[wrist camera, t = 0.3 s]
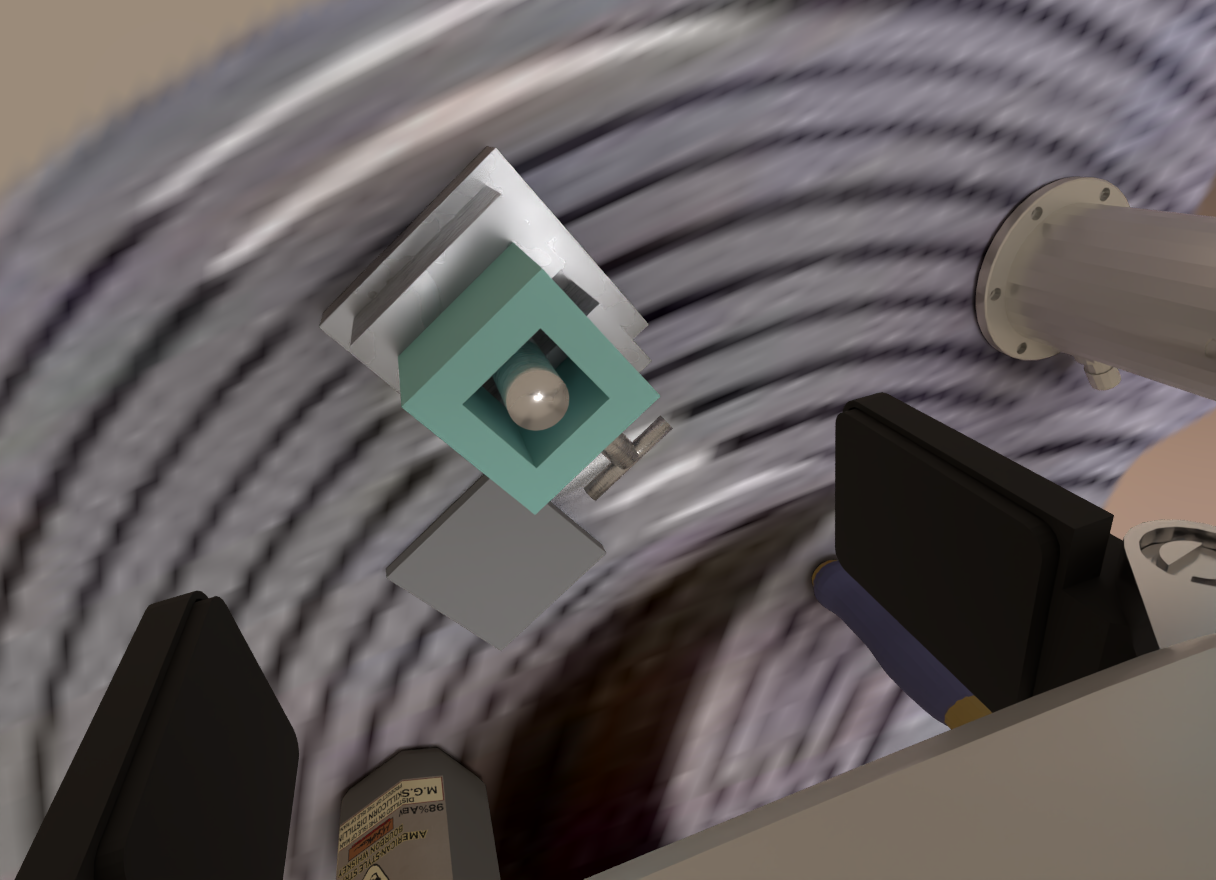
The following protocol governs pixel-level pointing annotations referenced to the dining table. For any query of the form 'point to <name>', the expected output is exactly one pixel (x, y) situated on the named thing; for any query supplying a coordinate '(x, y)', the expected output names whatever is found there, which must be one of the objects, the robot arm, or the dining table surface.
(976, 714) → the rubber mallet
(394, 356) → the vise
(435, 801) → the liquor
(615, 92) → the dining table surface
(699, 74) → the dining table surface
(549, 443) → the collar
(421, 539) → the mat
